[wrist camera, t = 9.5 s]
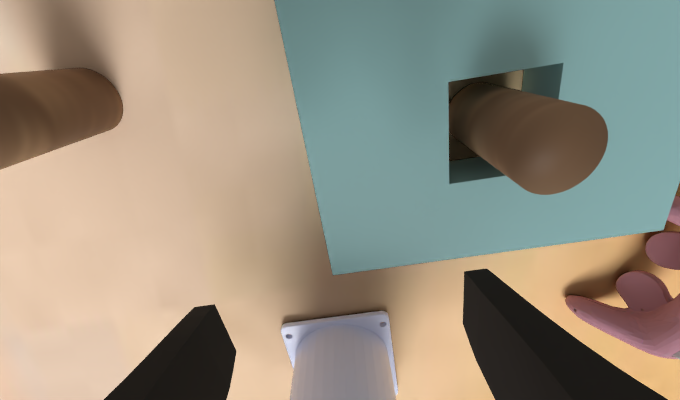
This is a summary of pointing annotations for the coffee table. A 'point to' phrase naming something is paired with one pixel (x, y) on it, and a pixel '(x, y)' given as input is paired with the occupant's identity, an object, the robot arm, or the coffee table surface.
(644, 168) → the block
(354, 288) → the coffee table surface
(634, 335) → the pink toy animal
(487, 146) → the short pin
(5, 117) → the tall pin
